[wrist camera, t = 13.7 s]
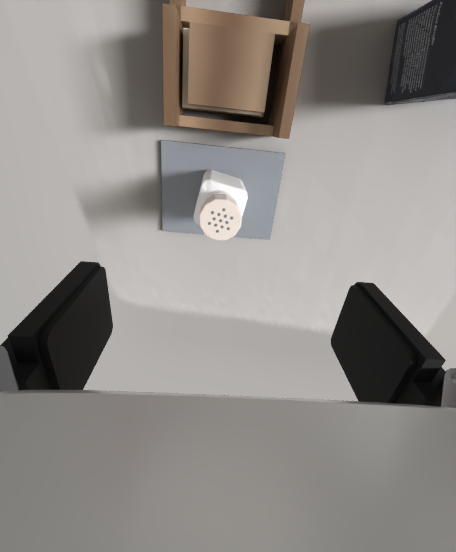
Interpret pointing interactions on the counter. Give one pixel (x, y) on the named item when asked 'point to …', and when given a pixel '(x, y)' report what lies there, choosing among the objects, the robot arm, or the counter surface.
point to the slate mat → (232, 161)
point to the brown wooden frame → (286, 32)
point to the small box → (424, 55)
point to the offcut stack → (226, 69)
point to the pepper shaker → (220, 205)
